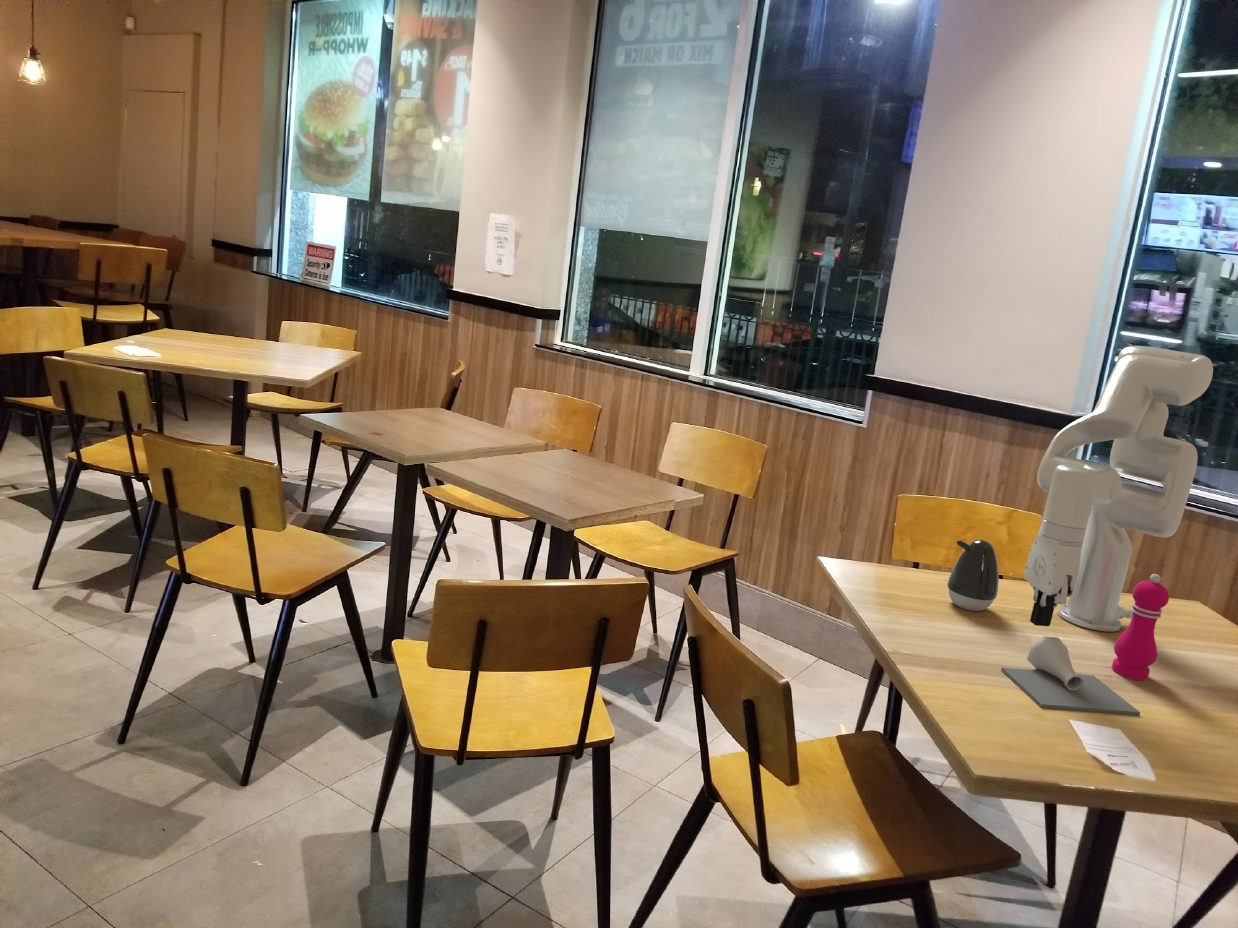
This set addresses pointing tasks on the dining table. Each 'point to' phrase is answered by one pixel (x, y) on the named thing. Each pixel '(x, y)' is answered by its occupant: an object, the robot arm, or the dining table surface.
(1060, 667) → the flask
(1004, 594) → the dining table surface
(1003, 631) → the dining table surface
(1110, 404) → the robot arm
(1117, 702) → the rubber mat
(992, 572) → the pump dispenser
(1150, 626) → the pepper mill
